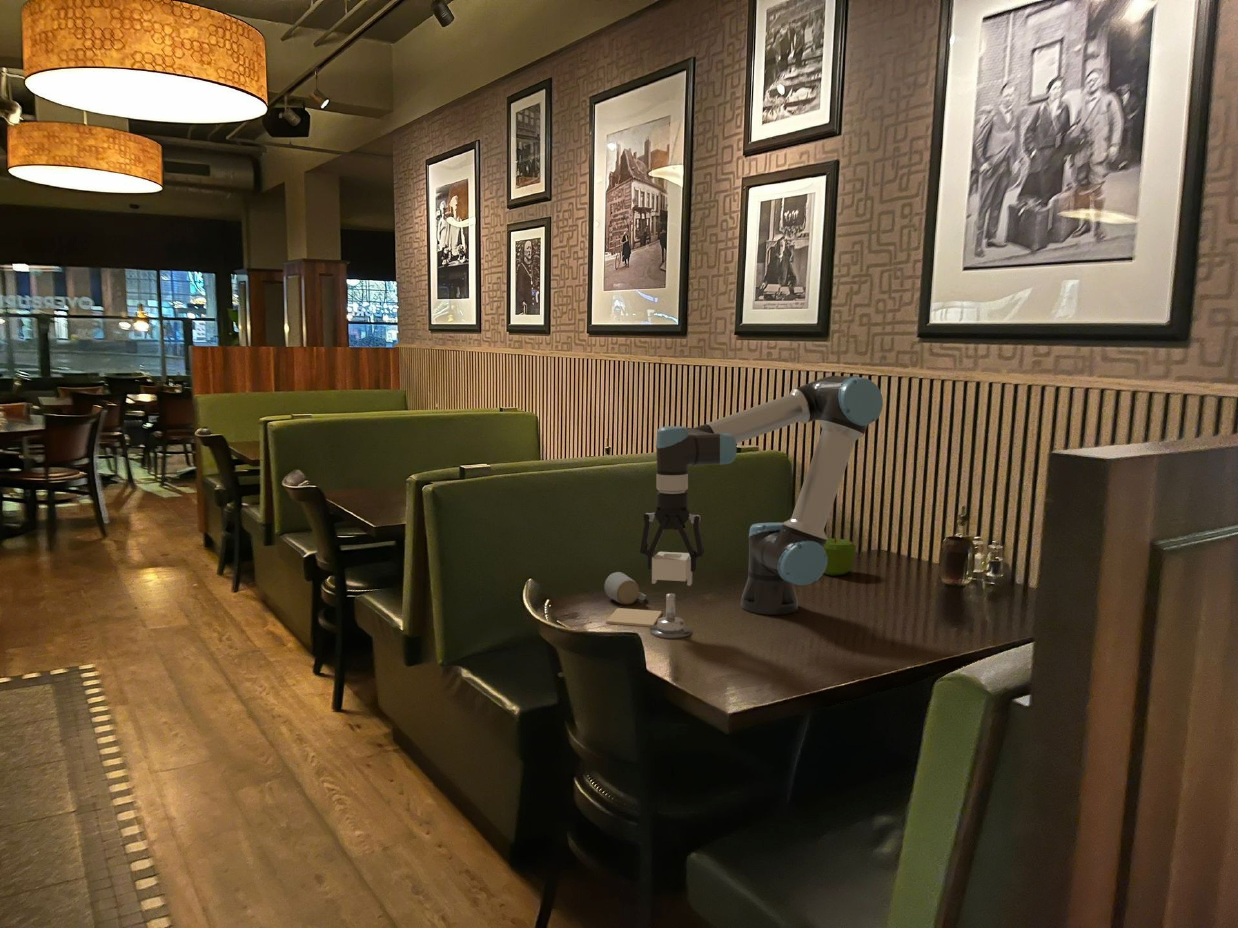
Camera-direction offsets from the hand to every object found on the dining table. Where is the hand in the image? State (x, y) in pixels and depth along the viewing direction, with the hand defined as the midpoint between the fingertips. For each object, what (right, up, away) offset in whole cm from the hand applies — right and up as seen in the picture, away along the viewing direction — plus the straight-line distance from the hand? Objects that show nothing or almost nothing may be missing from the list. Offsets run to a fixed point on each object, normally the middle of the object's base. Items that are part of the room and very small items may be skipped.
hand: (672, 583), depth 217 cm
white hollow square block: (0, +2, 0) cm, 2 cm away
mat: (-9, -11, +13) cm, 19 cm away
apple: (+54, -5, +61) cm, 82 cm away
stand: (0, -12, +1) cm, 12 cm away
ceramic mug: (-11, -9, +29) cm, 32 cm away
